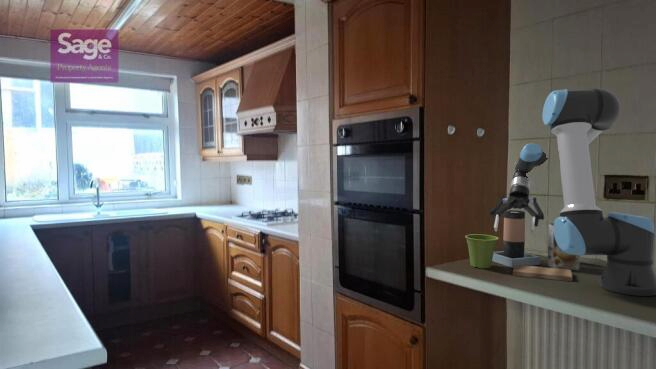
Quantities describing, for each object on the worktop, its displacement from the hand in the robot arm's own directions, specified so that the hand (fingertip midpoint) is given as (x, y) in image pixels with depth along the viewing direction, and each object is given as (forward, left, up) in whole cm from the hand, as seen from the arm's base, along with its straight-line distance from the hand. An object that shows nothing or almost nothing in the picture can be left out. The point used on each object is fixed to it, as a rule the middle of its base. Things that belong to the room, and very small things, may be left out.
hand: (513, 230), depth 169 cm
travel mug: (-1, +1, -12) cm, 12 cm away
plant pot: (-2, +17, -12) cm, 21 cm away
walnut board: (-19, +5, -12) cm, 23 cm away
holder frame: (-1, +1, -12) cm, 12 cm away
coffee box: (-14, -10, -12) cm, 21 cm away
